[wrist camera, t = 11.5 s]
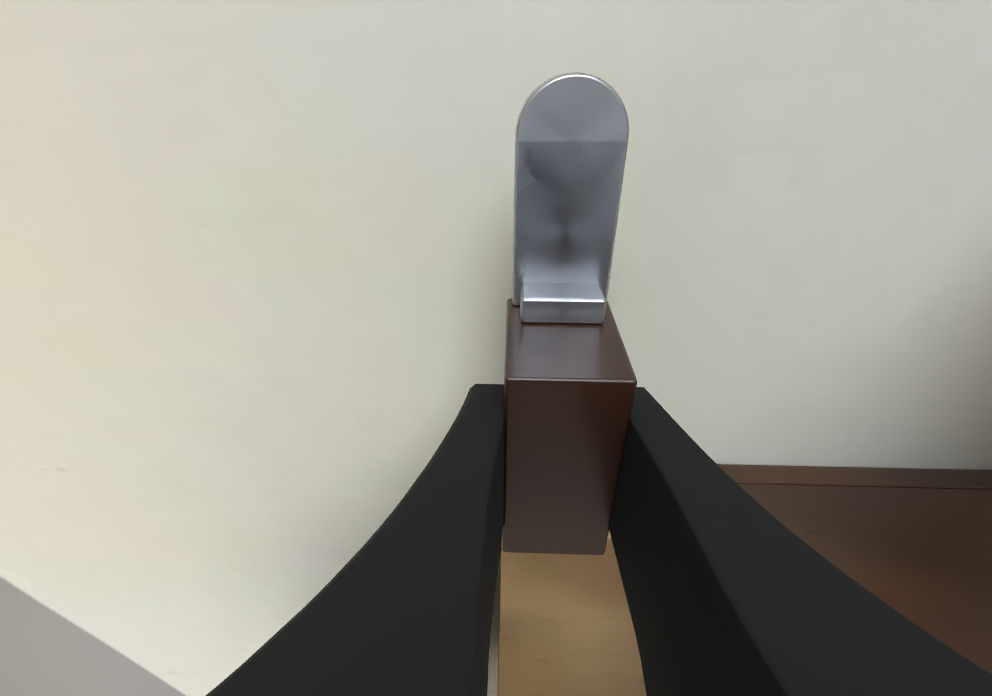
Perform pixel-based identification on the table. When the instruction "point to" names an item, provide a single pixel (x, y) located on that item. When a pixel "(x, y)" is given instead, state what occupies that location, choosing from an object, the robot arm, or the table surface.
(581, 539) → the knife
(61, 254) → the table surface
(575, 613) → the drawer
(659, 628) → the robot arm
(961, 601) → the cabinet
